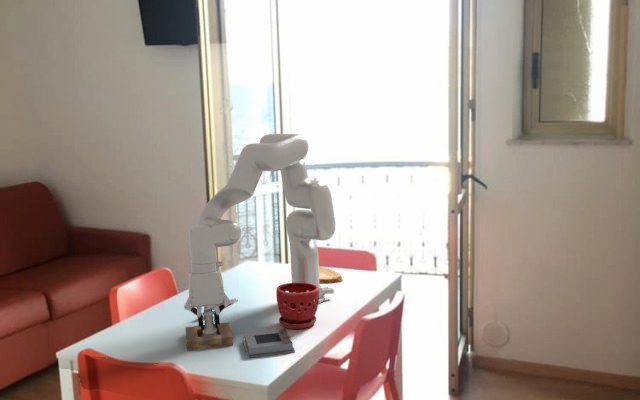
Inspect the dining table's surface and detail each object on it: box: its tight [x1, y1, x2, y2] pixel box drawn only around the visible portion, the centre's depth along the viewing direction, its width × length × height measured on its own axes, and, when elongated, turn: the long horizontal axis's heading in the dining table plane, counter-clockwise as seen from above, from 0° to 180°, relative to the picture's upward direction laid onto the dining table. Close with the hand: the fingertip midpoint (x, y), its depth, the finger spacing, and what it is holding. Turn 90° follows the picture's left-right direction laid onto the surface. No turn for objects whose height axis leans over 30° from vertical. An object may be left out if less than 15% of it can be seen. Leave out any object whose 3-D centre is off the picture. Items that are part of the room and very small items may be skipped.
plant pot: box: [275, 282, 319, 330], centre depth 210 cm, size 13×13×12 cm
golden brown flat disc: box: [319, 265, 344, 284], centre depth 263 cm, size 18×18×4 cm
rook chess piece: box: [202, 309, 217, 336], centre depth 200 cm, size 4×4×8 cm
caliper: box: [203, 298, 239, 311], centre depth 228 cm, size 20×1×6 cm, turn 158°
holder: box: [242, 328, 296, 359], centre depth 193 cm, size 13×13×2 cm
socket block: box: [184, 322, 234, 351], centre depth 200 cm, size 13×13×2 cm
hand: (209, 327), depth 200 cm, fingers closed on rook chess piece, 3 cm apart
